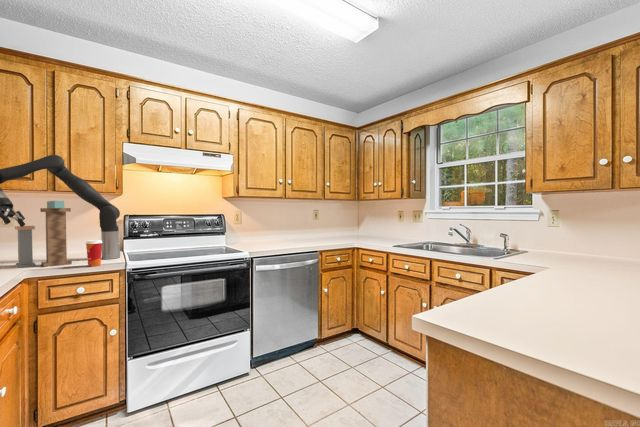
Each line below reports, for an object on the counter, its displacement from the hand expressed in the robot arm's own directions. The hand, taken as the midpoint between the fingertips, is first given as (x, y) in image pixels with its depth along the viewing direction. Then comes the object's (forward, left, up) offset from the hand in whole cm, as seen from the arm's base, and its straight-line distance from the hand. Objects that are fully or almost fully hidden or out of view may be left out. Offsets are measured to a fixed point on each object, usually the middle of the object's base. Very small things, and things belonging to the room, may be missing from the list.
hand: (16, 224), depth 167 cm
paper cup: (-29, +23, -24) cm, 44 cm away
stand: (-16, +2, -23) cm, 29 cm away
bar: (-16, +1, +9) cm, 18 cm away
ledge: (-4, -8, -23) cm, 25 cm away
